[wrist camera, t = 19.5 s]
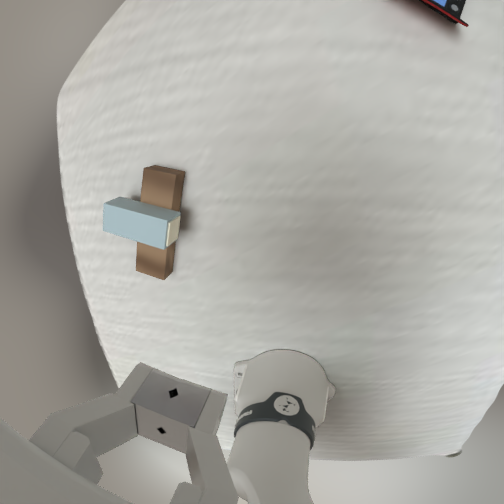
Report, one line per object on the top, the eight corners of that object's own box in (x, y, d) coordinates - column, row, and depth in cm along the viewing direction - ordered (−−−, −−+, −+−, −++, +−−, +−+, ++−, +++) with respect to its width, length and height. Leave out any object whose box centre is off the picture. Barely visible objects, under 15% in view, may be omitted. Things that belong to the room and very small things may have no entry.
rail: (172, 271, 49) (164, 280, 46) (145, 262, 49) (135, 270, 46) (185, 171, 42) (176, 174, 39) (154, 165, 43) (143, 168, 40)
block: (118, 222, 44) (178, 239, 43) (102, 230, 40) (165, 250, 39) (119, 196, 42) (182, 212, 41) (103, 203, 39) (169, 221, 38)
